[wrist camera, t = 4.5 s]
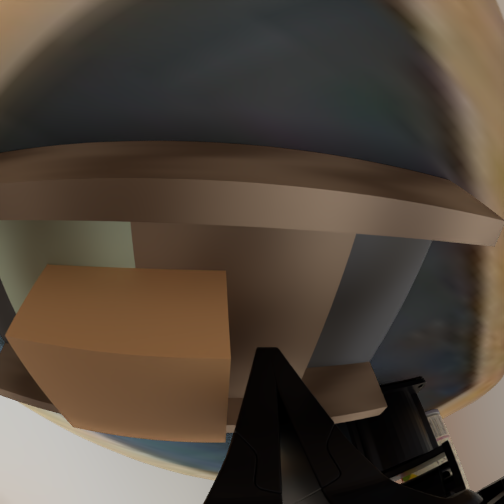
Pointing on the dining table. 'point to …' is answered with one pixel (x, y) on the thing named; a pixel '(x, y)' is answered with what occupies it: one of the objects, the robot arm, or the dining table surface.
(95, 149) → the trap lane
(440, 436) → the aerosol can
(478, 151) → the dining table surface
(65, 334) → the orange block
